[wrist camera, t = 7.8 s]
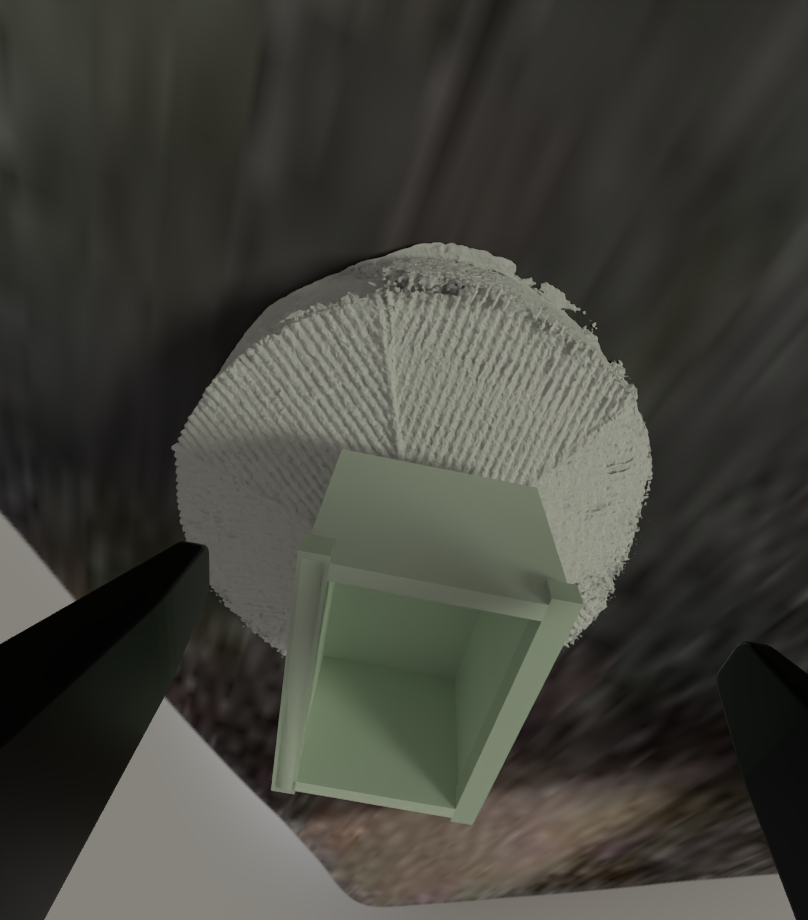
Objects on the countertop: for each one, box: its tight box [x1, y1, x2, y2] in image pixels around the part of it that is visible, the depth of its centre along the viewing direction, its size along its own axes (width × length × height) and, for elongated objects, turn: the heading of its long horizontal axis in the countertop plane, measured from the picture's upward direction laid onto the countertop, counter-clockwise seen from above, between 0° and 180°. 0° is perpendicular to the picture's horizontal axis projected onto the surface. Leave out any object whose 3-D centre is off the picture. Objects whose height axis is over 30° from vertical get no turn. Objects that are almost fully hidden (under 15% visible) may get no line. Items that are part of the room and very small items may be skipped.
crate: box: [271, 449, 584, 825], centre depth 15 cm, size 9×6×5 cm, turn 169°
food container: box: [171, 242, 653, 658], centre depth 20 cm, size 20×20×7 cm
